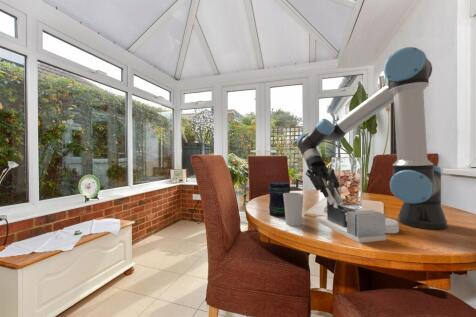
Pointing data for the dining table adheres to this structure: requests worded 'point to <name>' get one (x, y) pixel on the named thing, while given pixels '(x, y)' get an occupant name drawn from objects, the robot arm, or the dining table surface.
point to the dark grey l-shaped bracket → (331, 188)
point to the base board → (344, 231)
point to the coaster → (391, 226)
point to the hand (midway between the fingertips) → (336, 202)
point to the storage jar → (277, 198)
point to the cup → (293, 208)
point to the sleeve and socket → (358, 221)
